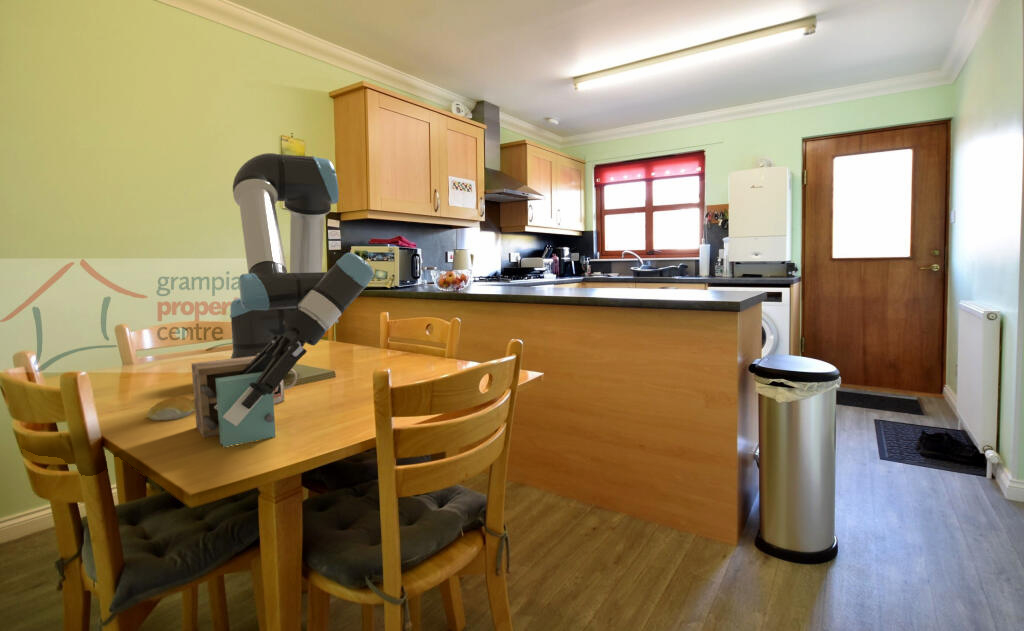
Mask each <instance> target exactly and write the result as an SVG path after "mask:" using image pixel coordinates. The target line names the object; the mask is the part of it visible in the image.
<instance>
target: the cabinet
mask: <svg viewBox="0 0 1024 631" xmlns="http://www.w3.org/2000/svg"><path fill="white" fill-rule="evenodd" d="M255 357H256V356H250V357H242V358H233V359H231V358H227V359H225V358H224V359H219V360H207V361H200V362H192V363H191V374H192V390H193V398H194V399H193V402H194V403H195V410H194V413H195V425H196V426H195V427H196V429H197V430H198V432H199V433H200V435H201V436H202V437H203V438H208V437H214V436H218V434H219V421H218V410H216V409H215V408H214V407H215V406H216V405H217V394H216V380H215V378H222V377H229V376H237V375H240V373H241V371H243V370H244V369H245V368H246V366H247V365H248V364H249V363H250V362H251V361H252V360H253V359H254V358H255Z"/></svg>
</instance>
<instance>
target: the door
mask: <svg viewBox="0 0 1024 631" xmlns="http://www.w3.org/2000/svg"><path fill="white" fill-rule="evenodd" d="M262 373H263V372H259V373H251V374H244V375H237V376H229V377H222V378H215V380H216V394H217V407H218V421H219V434H220V435H219V443H220V445H221V444H222V445H223V446H224V447H227V446H231V445H236V444H241V443H246V442H251V441H255V442H257V441H256V440H260V441H262V440H261V439H265V440H267V439H266V438H269V439H271V438H270V437H274V438H276V436H277V435H276V422H275V420H276V419H275V407H274V406H275V404H274V403H273V393H272V394H270V395H269V394H268V393H267V394H266V395H263V397H262V398H261V399H260V400H259V401H258V402H257V403H256V405H255V406H254V407H253V408H252V409H251V410H250V411H249V413H248V414H247V415H246V416H245V417H244V418H243V419H242V421H241V422H240V423H239V424H238V425H237V426H235V425H234V424H232V423H231V422H229V421H228V420H226V419H225V418H223V416H224V415H225V414H226V412H227V411H228V410H229V409H230V408H231V407H232V406H233V405H234V403H235V402H236V401H237V400H238V399H239V398H240V397H241V396H242V395H243V393H244V392H245V391H246V390H247V389H248V388H249V387H251V386H249V384H250V383H252V382H254V383H256V381H257V380H258V378H259V377H260V376H261V374H262ZM251 388H252V387H251ZM253 389H254V388H253ZM251 443H252V442H251ZM246 444H247V443H246ZM222 445H221V446H222ZM241 445H242V444H241ZM223 446H222V447H223ZM224 447H223V448H224ZM227 448H228V447H227Z"/></svg>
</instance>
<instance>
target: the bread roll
mask: <svg viewBox="0 0 1024 631" xmlns="http://www.w3.org/2000/svg"><path fill="white" fill-rule="evenodd" d="M194 412H195V402H194V400H192V399H190V398H189V397H186V396H181V395H179V396H172V397H168V398H166V399H163V400H160V401H159V402H156V404H154V405H153V406H152V407H151V408H149V411H148V414H147V415H148V418H149V420H152V421H160V422H161V421H172V420H178V419H182V418H185V416H186V417H189V416H190V415H191V414H192V413H194Z"/></svg>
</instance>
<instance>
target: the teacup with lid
mask: <svg viewBox="0 0 1024 631" xmlns="http://www.w3.org/2000/svg"><path fill="white" fill-rule="evenodd" d="M258 354H259V353H258ZM258 354H257V355H258ZM290 372H291V373H292V374H293V379H292V381H291V382H290V384H288V385H285V384H284V379H283V380H282V381H281V382H280V384H279V385H278V386H277V387H276V389H275V390H274V391H273V403H274V405H277V404H280V403H281V402H283V401H284V400H285V391H286V390H289V389H291V388H292V387H294V386H295V385H296V383H297V379H298V375H297V372H296V370H294V369H293V368H292V369H291V370H290V371H289V372H288V373H290Z"/></svg>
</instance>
